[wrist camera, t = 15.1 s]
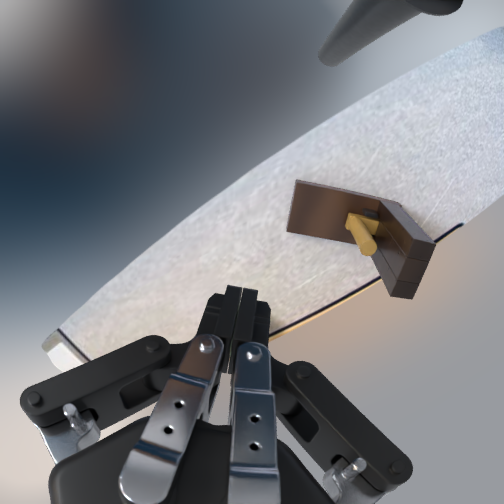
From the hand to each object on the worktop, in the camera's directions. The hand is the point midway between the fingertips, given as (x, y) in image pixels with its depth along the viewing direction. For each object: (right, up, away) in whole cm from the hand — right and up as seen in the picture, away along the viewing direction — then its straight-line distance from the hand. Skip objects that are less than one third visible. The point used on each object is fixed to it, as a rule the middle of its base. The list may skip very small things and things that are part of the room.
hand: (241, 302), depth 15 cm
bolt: (+16, +6, +24) cm, 29 cm away
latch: (+13, +8, +25) cm, 29 cm away
